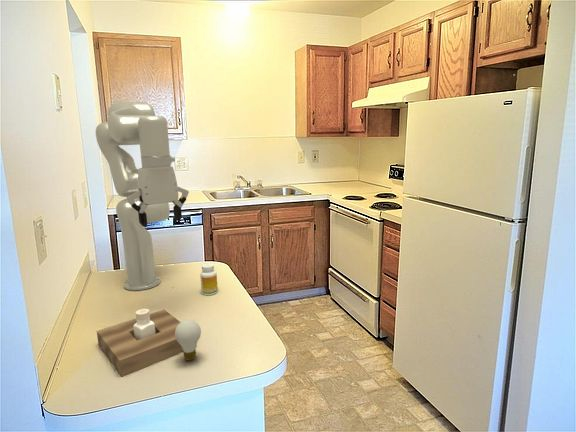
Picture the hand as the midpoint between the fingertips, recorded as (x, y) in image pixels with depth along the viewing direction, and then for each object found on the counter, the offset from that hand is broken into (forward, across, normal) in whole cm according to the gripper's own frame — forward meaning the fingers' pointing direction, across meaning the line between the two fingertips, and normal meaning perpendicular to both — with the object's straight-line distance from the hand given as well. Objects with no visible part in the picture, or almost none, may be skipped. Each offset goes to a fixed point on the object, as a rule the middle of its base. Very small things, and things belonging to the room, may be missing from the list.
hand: (161, 223), depth 110 cm
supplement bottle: (+29, -17, -6) cm, 34 cm away
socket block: (+28, +12, +14) cm, 33 cm away
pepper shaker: (+28, +12, +14) cm, 33 cm away
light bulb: (+27, +6, +27) cm, 39 cm away
